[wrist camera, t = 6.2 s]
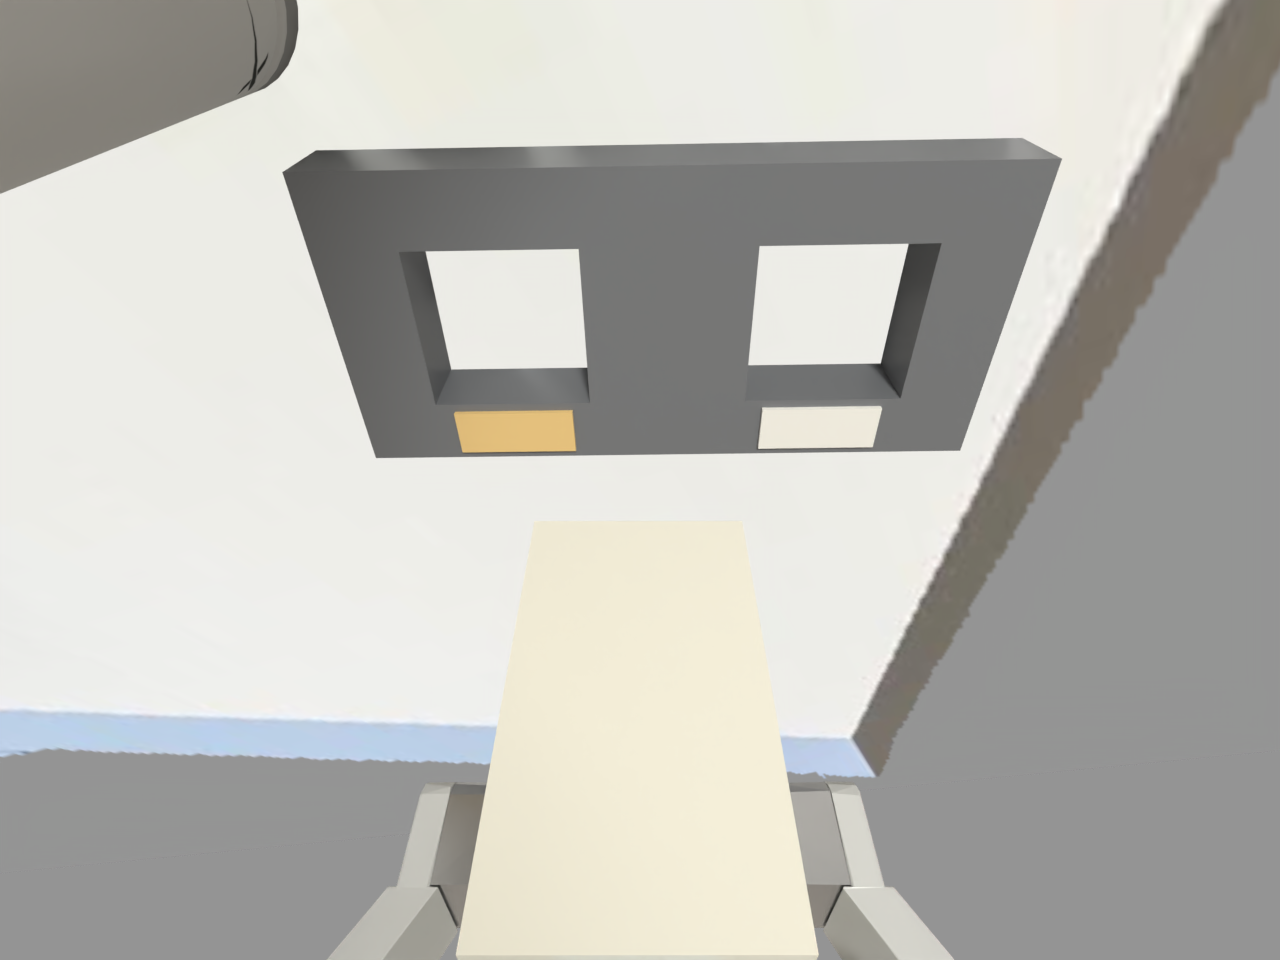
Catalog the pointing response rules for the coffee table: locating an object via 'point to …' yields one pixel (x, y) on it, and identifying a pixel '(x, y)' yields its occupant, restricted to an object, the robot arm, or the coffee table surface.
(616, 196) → the panel
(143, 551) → the coffee table surface
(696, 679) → the plug
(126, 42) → the travel mug
